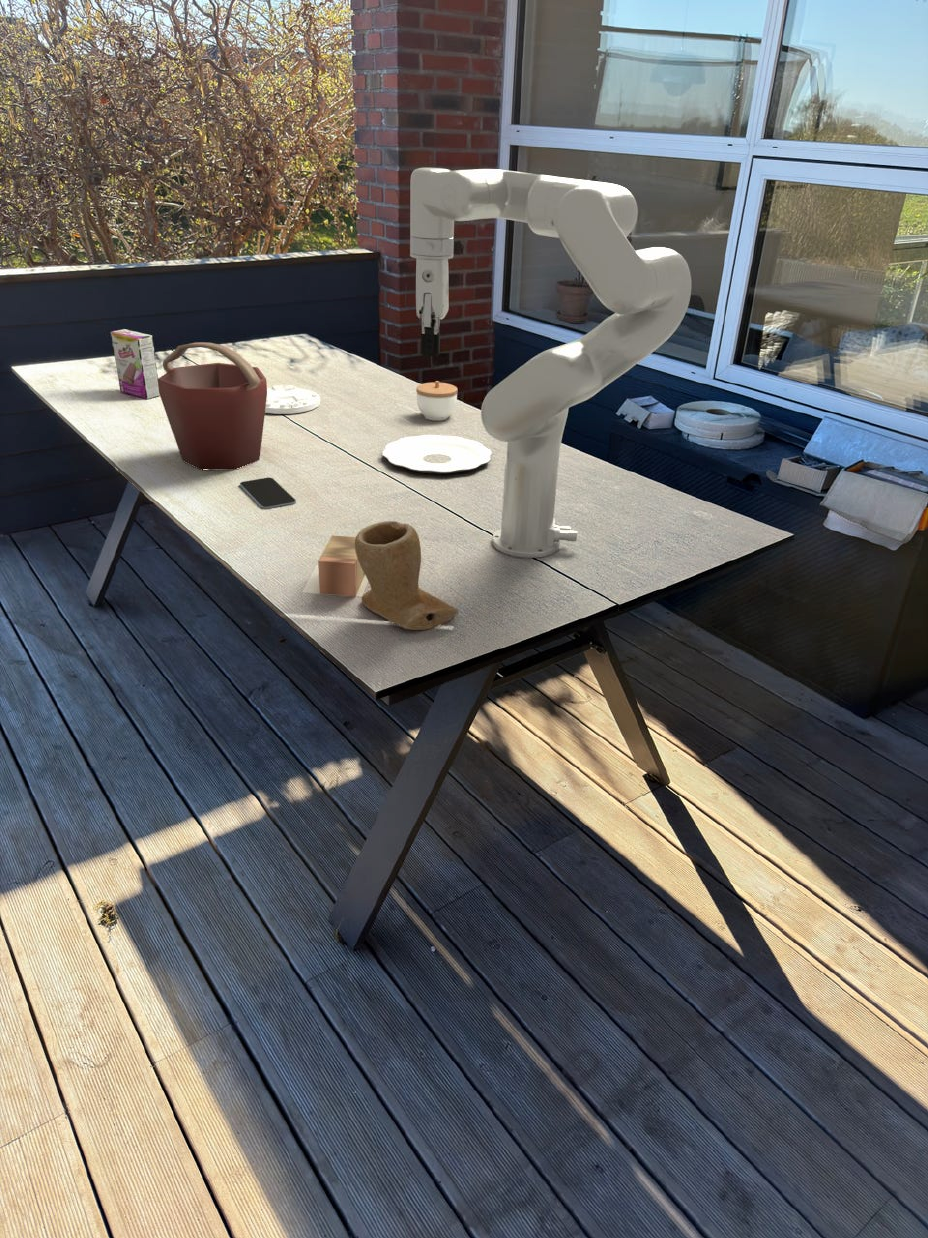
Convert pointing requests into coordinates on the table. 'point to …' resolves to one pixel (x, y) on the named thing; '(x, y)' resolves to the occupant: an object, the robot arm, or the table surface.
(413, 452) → the plate
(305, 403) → the white round plaque
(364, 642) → the table surface
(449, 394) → the lidded jar
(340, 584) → the oak block
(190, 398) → the bucket
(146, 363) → the candy bar box
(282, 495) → the smartphone
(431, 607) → the clay platform pipe
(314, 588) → the mat
